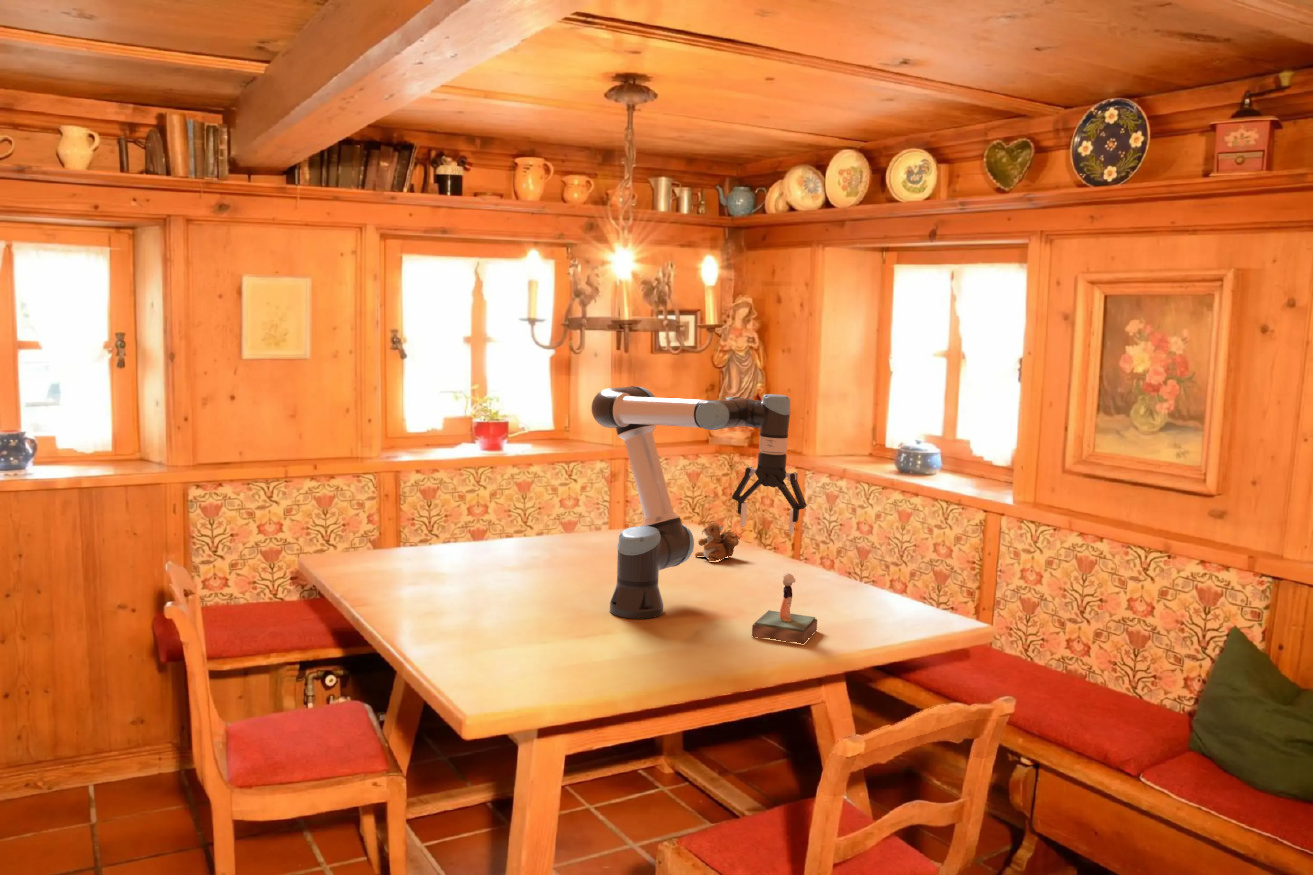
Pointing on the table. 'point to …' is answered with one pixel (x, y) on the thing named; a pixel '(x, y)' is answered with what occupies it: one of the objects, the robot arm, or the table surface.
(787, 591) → the grandmother figurine
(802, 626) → the sage green square panel
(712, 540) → the stuffed squirrel
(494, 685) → the table surface
